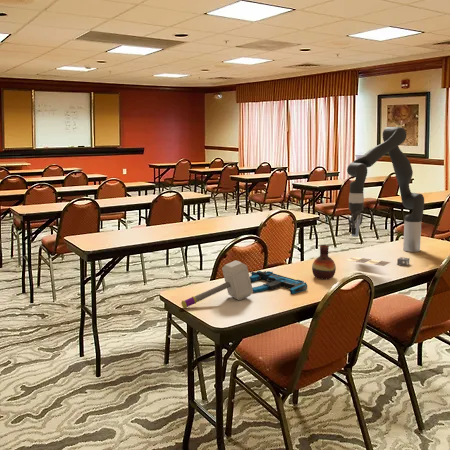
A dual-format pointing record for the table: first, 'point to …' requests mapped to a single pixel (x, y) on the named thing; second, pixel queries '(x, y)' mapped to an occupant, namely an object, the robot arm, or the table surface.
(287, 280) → the submachine gun
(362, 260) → the board
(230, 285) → the hammer
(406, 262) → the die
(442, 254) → the table surface
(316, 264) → the vase
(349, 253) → the table surface
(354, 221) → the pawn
